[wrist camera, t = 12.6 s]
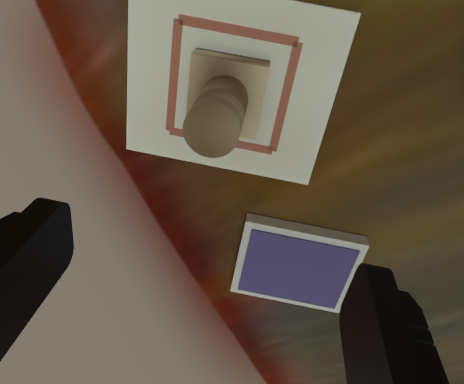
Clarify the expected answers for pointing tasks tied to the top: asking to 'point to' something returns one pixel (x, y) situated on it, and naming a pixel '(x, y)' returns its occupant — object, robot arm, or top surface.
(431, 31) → the top surface
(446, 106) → the top surface
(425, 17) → the top surface
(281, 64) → the sheet
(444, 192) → the top surface
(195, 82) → the stamp
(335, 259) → the ink pad
